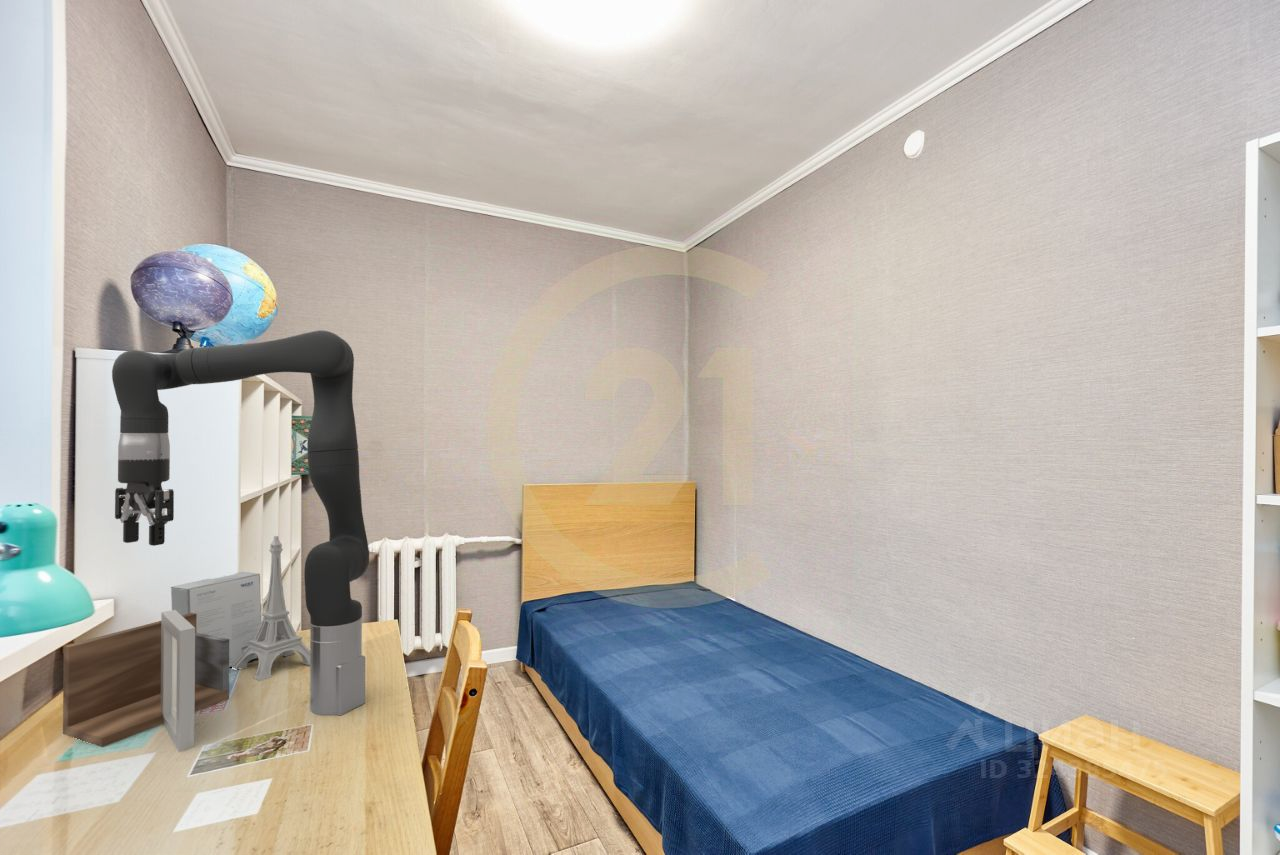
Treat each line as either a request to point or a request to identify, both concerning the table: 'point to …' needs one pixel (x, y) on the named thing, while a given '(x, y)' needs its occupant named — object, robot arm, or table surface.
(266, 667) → the eiffel tower
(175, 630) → the picture frame
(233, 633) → the hard drive box
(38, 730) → the table surface
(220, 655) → the walnut shelf
